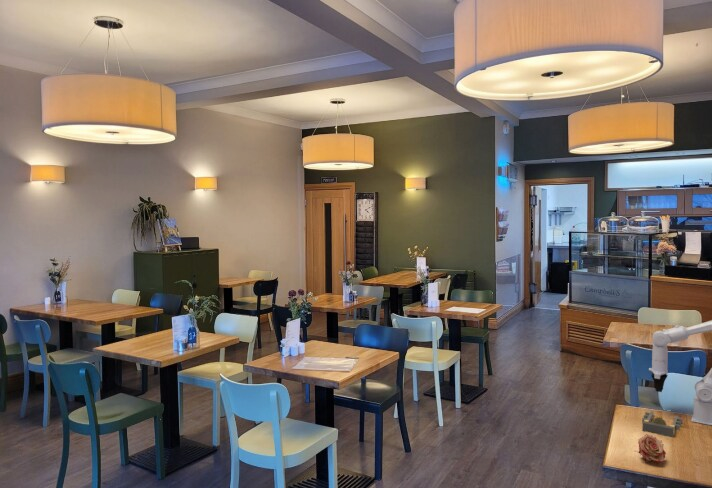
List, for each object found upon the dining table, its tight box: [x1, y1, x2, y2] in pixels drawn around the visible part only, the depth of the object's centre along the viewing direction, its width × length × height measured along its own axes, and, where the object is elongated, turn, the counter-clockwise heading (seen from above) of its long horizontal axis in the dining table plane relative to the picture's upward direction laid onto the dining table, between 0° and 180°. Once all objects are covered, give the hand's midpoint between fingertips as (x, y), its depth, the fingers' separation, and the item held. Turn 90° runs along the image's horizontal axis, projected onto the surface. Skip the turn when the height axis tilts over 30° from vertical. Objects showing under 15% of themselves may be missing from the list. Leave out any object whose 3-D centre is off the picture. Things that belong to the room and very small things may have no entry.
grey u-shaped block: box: [641, 410, 683, 438], centre depth 217 cm, size 13×20×3 cm, turn 144°
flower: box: [634, 433, 667, 464], centre depth 187 cm, size 10×9×8 cm
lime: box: [651, 417, 667, 425], centre depth 212 cm, size 4×5×5 cm
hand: (659, 391), depth 228 cm, fingers closed
